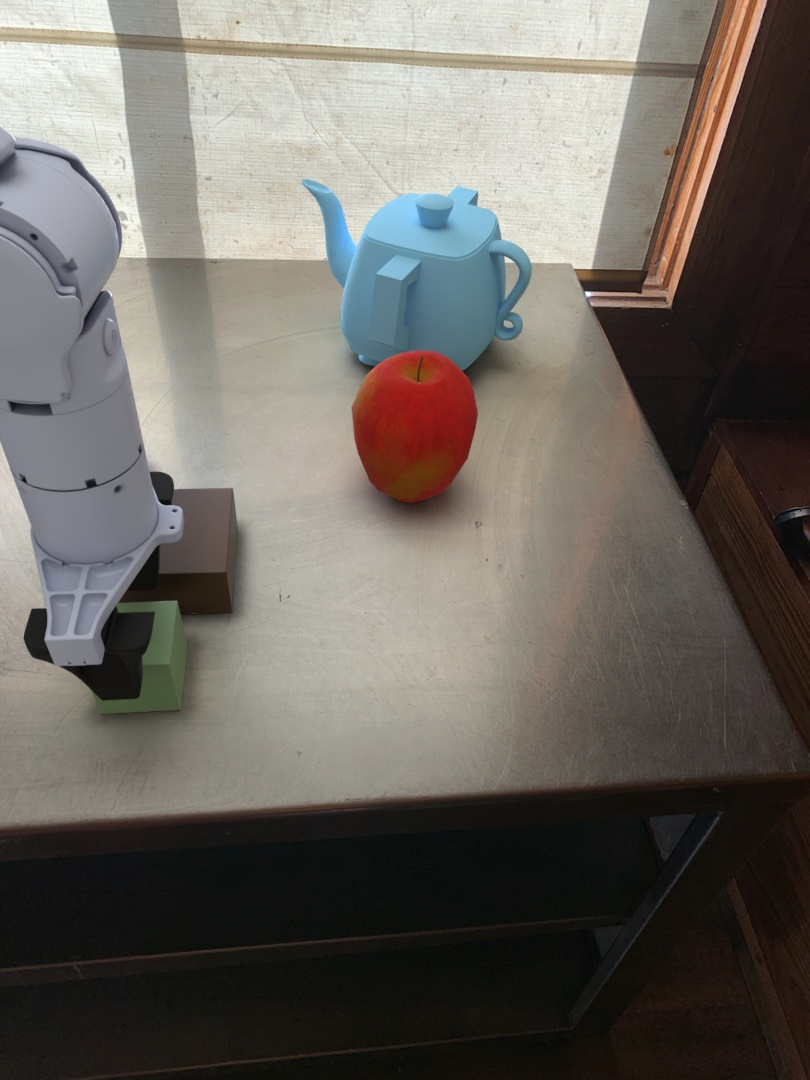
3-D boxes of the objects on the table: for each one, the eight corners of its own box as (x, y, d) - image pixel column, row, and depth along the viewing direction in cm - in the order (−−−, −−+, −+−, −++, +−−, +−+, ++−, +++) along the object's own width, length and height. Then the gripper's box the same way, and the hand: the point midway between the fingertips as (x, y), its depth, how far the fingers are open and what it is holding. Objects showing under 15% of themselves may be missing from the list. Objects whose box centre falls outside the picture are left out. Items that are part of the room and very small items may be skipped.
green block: (100, 714, 46) (82, 668, 43) (112, 650, 49) (96, 603, 46) (181, 710, 47) (169, 664, 43) (187, 647, 50) (177, 600, 46)
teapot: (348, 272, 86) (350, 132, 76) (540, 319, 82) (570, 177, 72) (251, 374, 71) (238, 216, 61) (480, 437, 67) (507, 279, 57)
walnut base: (106, 617, 51) (93, 576, 48) (124, 531, 57) (113, 489, 54) (232, 613, 52) (226, 572, 49) (238, 528, 58) (233, 487, 55)
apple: (394, 437, 66) (402, 307, 58) (487, 480, 63) (511, 349, 55) (326, 496, 61) (325, 361, 52) (425, 546, 57) (441, 411, 49)
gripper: (149, 566, 31) (191, 746, 40) (183, 360, 41) (211, 544, 50) (-43, 571, 30) (47, 754, 39) (41, 360, 40) (96, 547, 50)
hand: (130, 637), depth 45 cm, fingers open, 7 cm apart
